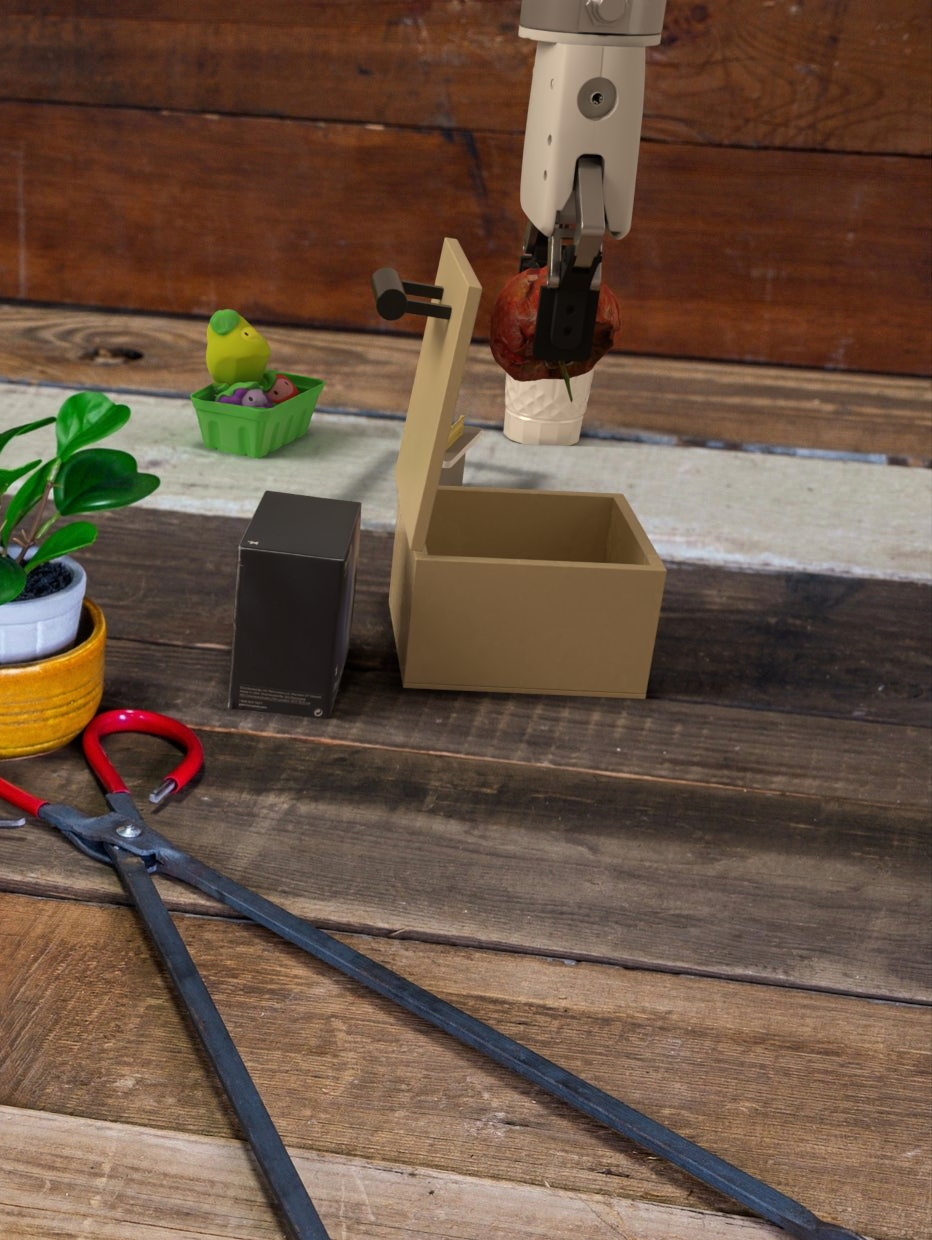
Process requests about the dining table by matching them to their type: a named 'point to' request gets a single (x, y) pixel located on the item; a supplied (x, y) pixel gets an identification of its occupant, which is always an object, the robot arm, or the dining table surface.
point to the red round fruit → (517, 330)
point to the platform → (457, 452)
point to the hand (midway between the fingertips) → (549, 339)
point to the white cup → (546, 410)
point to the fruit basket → (249, 392)
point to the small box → (294, 604)
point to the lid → (430, 375)
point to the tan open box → (527, 594)
